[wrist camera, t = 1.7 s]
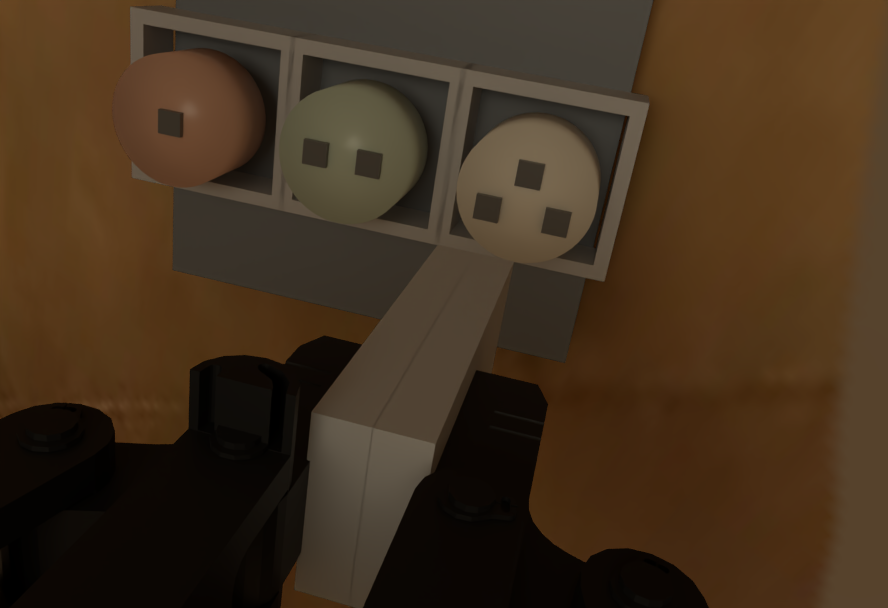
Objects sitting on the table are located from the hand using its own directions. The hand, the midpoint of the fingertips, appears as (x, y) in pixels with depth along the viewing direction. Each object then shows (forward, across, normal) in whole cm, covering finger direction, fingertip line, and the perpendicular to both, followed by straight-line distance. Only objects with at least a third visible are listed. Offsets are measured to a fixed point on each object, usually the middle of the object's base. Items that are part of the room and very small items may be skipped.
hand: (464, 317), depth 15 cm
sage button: (+12, -6, 0) cm, 14 cm away
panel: (+16, -6, 0) cm, 17 cm away
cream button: (+12, 0, 0) cm, 12 cm away
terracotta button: (+12, -12, 0) cm, 17 cm away
